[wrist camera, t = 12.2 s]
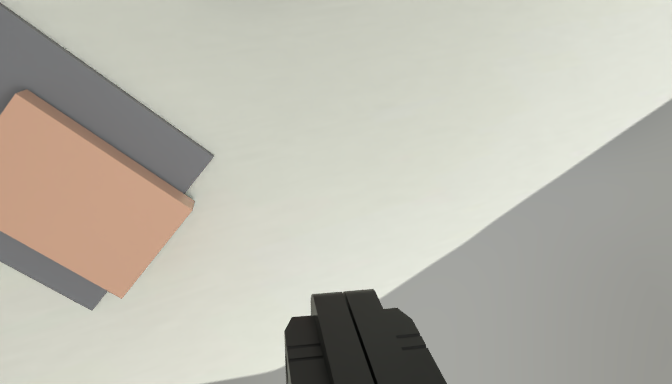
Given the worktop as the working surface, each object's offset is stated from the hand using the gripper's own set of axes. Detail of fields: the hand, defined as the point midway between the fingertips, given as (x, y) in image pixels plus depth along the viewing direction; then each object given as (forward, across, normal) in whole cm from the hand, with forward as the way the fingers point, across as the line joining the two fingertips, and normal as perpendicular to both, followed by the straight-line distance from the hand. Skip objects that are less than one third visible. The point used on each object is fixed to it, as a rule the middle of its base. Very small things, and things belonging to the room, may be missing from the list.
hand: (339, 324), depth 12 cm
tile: (+31, +10, +12) cm, 35 cm away
